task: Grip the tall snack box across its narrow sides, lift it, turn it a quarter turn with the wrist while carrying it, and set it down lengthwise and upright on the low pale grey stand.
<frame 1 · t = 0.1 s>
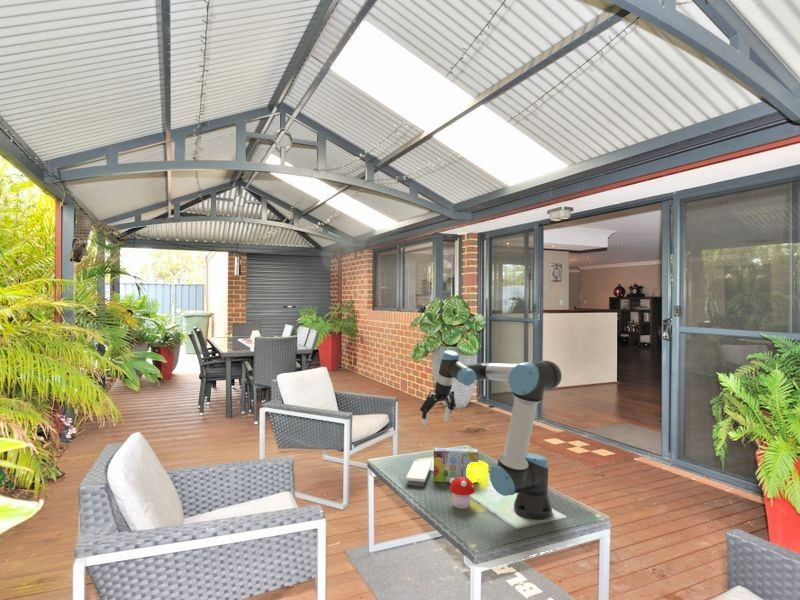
hand: (434, 422, 232), 28 cm above the table, tool tilted 20°, fingers open, 13 cm apart
mushroom: (461, 505, 204), on the table
snack box: (455, 481, 232), on the table
stand: (419, 477, 235), on the table
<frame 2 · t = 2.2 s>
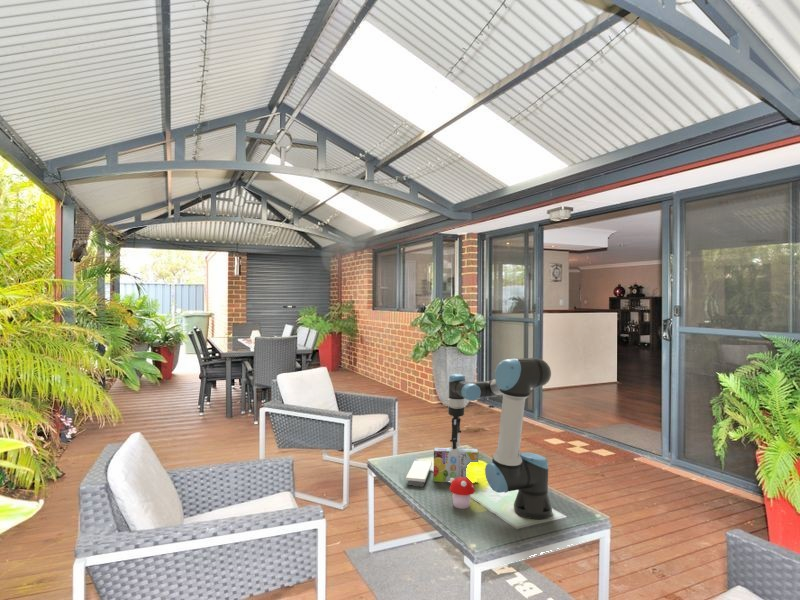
hand: (455, 450, 232), 14 cm above the table, tool pointing down, fingers open, 13 cm apart
nothing on the table moved.
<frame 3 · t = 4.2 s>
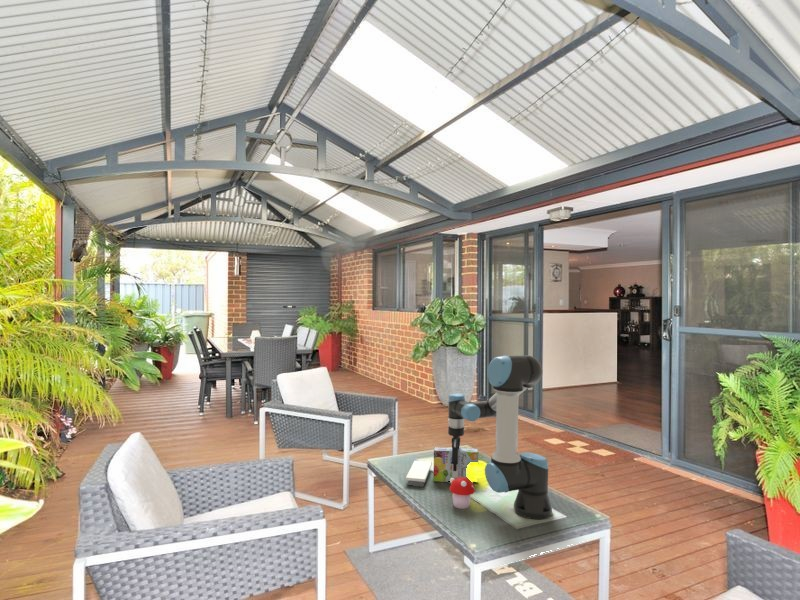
hand: (455, 474, 232), 3 cm above the table, tool pointing down, fingers closed on snack box, 6 cm apart
snack box: (455, 481, 232), on the table, touching gripper
everything else where it was.
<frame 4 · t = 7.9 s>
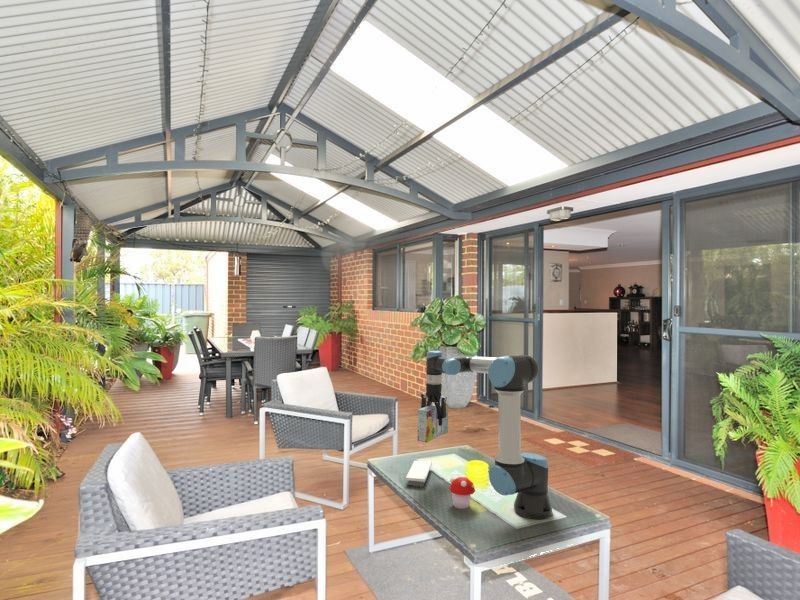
hand: (433, 430, 234), 23 cm above the table, tool pointing down, fingers closed on snack box, 6 cm apart
snack box: (432, 437, 234), point 20 cm above the table, touching gripper
everything else where it was.
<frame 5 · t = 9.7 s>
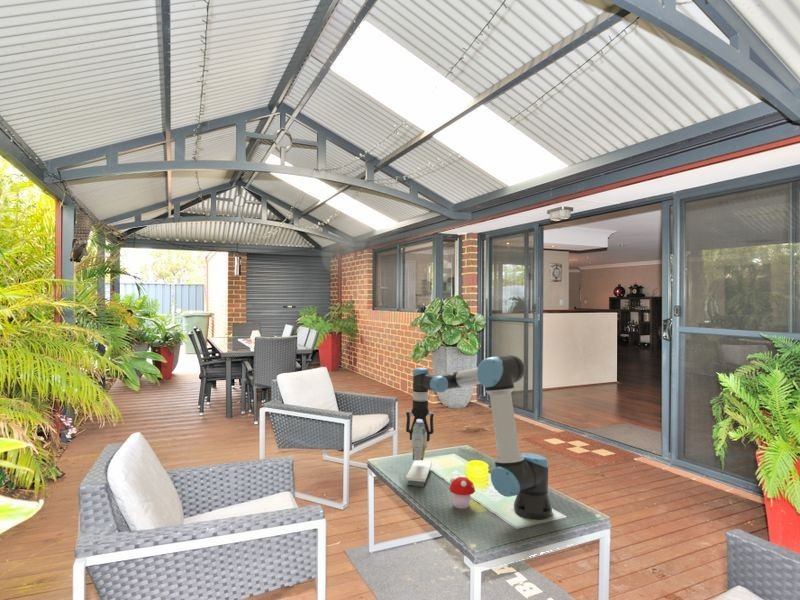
hand: (419, 447, 235), 15 cm above the table, tool pointing down, fingers closed on snack box, 6 cm apart
snack box: (419, 453, 235), point 12 cm above the table, touching gripper
everything else where it was.
when the fingers open (8 cm above the table, at t = 11.5 s): snack box drops 1 cm, resting on stand.
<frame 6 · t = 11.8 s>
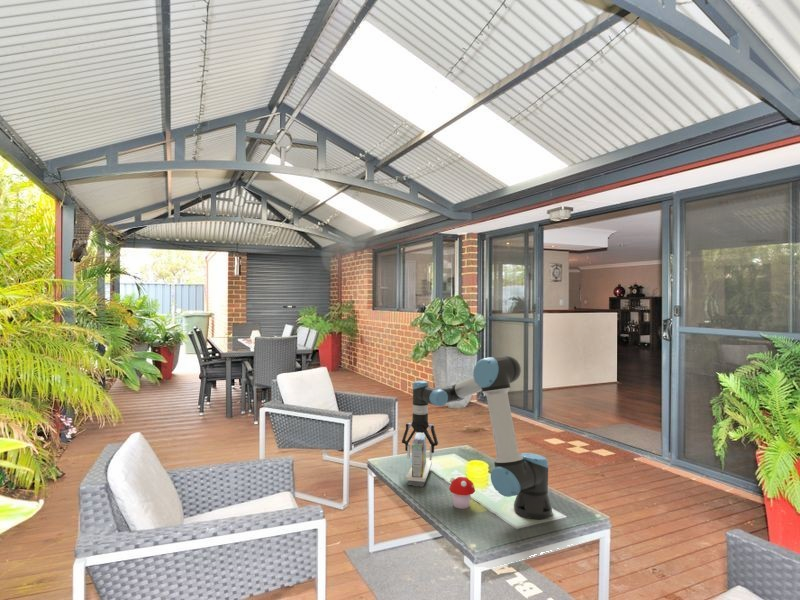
hand: (419, 458, 235), 9 cm above the table, tool pointing down, fingers open, 10 cm apart
snack box: (419, 469, 235), point 4 cm above the table, touching stand
everything else where it was.
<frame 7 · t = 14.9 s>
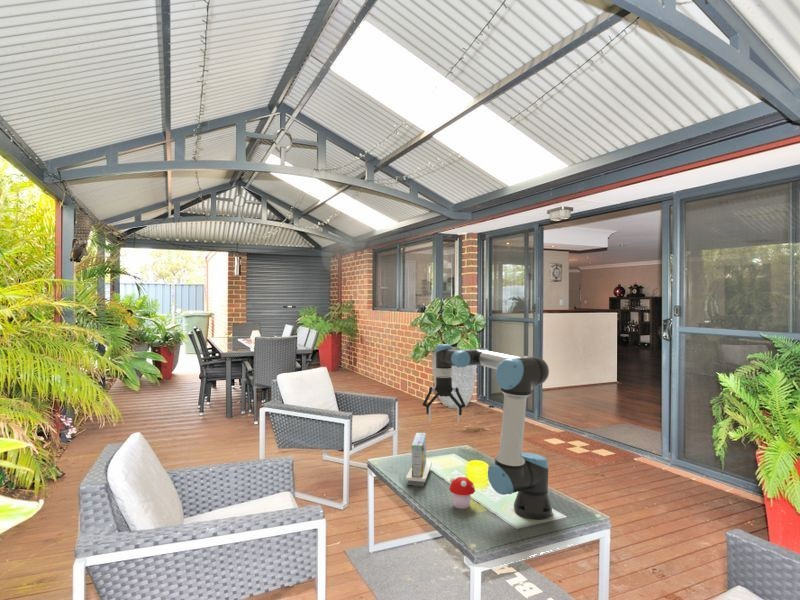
hand: (444, 421, 231), 29 cm above the table, tool pointing down, fingers open, 13 cm apart
nothing on the table moved.
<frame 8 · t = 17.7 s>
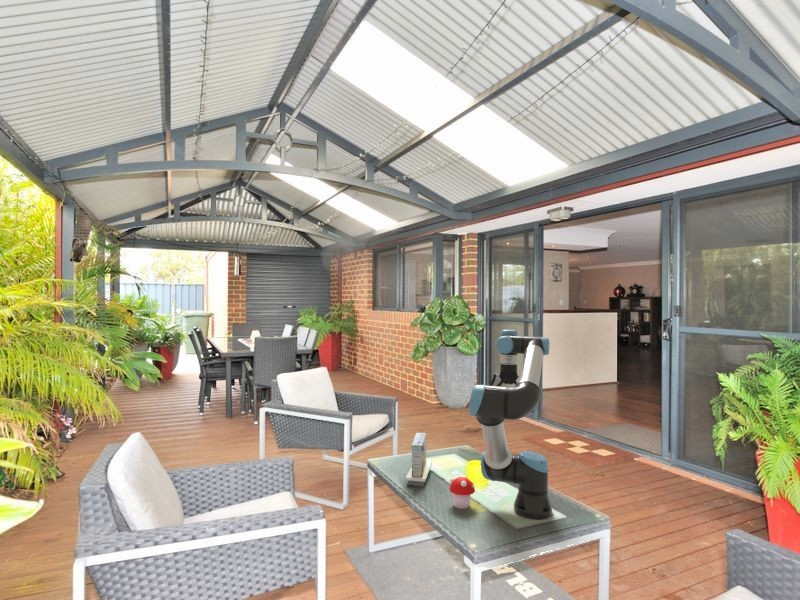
hand: (508, 410, 221), 37 cm above the table, tool pointing down, fingers open, 13 cm apart
nothing on the table moved.
at the end: snack box inside the target area on the stand (0.2 cm from its centre), point 3.8 cm above the stand's base; snack box tilted 0°; the gripper is holding nothing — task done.
